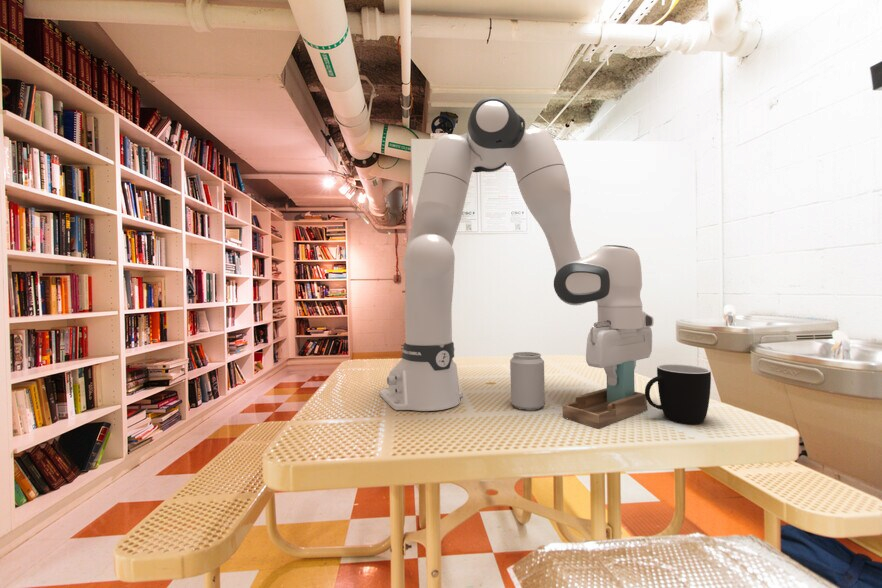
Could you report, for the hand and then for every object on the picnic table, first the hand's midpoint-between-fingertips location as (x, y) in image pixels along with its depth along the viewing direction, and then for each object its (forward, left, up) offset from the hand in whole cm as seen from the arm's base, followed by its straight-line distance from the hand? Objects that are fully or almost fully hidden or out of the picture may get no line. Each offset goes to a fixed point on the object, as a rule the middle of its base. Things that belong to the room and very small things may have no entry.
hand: (620, 383), depth 81 cm
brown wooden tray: (0, -6, -6) cm, 8 cm away
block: (0, 0, -4) cm, 4 cm away
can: (-13, -15, -6) cm, 21 cm away
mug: (+10, +2, -6) cm, 12 cm away
